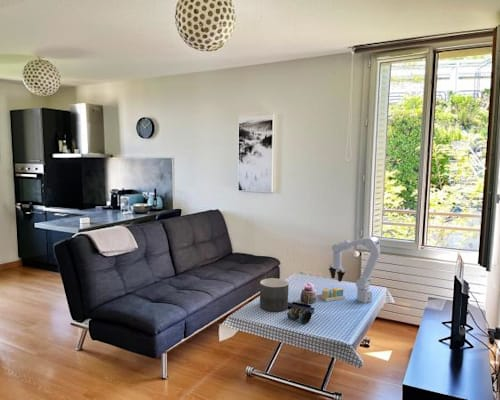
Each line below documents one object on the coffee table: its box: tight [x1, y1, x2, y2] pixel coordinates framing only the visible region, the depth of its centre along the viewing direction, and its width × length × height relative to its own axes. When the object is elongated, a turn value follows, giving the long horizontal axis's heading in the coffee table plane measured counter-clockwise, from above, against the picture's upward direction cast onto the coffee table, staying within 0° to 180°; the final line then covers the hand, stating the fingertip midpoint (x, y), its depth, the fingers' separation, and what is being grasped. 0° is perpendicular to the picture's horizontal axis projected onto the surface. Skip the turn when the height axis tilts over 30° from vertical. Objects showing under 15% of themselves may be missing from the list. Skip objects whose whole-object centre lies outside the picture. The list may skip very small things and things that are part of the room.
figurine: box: [286, 307, 312, 325], centre depth 222 cm, size 9×8×15 cm
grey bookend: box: [316, 292, 346, 302], centre depth 259 cm, size 12×15×3 cm
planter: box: [259, 277, 289, 313], centre depth 242 cm, size 18×18×16 cm
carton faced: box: [331, 287, 344, 297], centre depth 257 cm, size 6×4×6 cm, turn 114°
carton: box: [321, 287, 333, 301], centre depth 255 cm, size 6×4×6 cm, turn 146°
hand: (336, 279), depth 266 cm, fingers open, 7 cm apart
